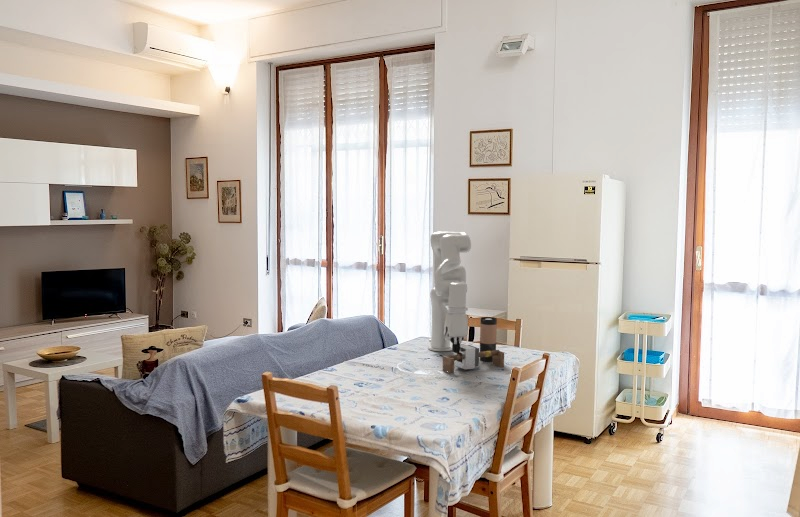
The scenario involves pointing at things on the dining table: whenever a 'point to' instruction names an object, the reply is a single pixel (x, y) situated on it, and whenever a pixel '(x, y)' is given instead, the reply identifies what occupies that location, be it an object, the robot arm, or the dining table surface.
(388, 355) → the dining table surface
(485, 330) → the travel mug
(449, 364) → the dowel rail
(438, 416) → the dining table surface
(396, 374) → the dining table surface
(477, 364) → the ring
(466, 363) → the sleeve
